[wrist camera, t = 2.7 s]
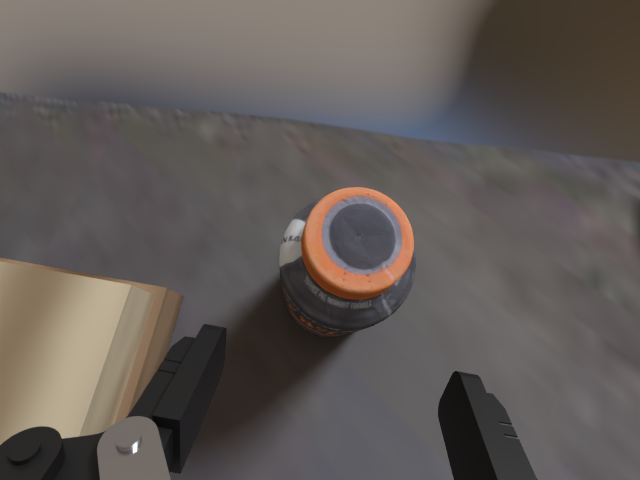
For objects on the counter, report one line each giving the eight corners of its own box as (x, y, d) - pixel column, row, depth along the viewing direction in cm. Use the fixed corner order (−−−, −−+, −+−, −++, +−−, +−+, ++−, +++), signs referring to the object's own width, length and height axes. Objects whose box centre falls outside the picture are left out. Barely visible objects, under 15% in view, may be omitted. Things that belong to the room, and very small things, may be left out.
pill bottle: (265, 307, 22) (238, 263, 12) (312, 231, 24) (326, 133, 14) (347, 356, 22) (399, 357, 11) (389, 275, 24) (468, 208, 13)
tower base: (-56, 447, 19) (-205, 486, 13) (25, 268, 22) (-68, 237, 16) (130, 479, 19) (60, 531, 13) (183, 296, 22) (145, 276, 17)
